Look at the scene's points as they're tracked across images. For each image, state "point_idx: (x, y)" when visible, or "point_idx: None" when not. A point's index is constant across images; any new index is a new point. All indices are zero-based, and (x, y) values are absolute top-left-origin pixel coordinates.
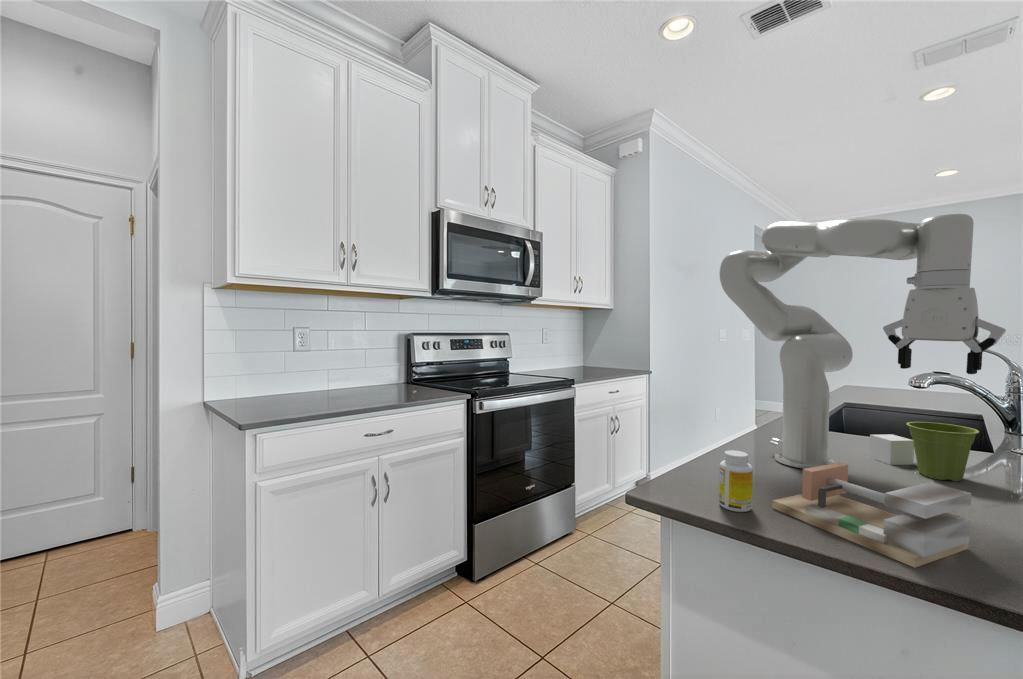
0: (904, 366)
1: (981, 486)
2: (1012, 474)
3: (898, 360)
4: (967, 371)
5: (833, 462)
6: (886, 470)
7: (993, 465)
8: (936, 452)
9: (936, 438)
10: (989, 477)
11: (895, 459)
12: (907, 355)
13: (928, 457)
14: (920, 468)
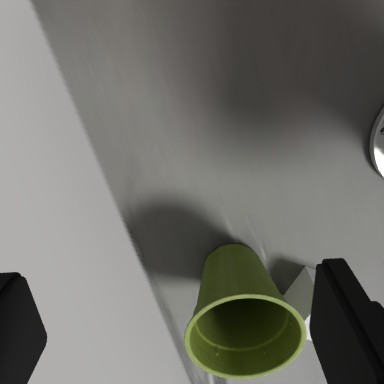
0: (323, 268)
1: (178, 264)
2: (180, 353)
3: (381, 311)
4: (13, 281)
5: (379, 160)
6: (298, 226)
7: (210, 376)
8: (233, 271)
9: (235, 287)
10: (190, 317)
11: (302, 280)
12: (346, 359)
13: (244, 262)
14: (255, 254)
